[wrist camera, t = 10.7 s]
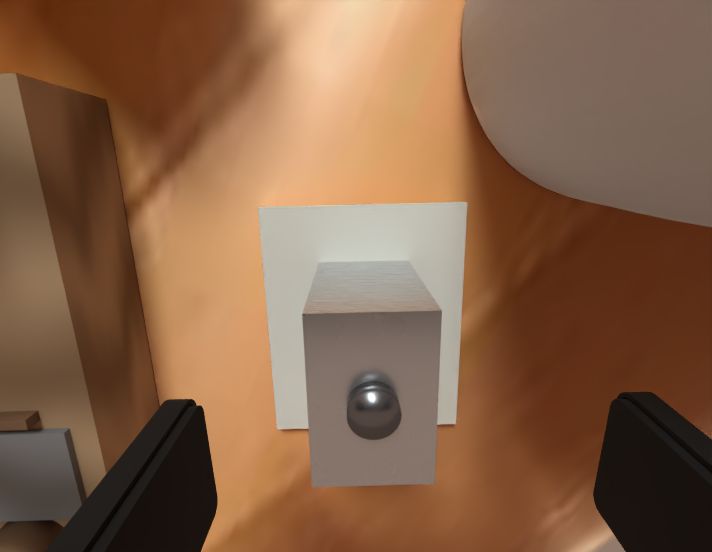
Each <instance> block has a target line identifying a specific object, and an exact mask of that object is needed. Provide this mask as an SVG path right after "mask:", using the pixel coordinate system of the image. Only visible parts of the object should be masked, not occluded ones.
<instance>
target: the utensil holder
mask: <svg viewBox="0 0 712 552" xmlns="http://www.w3.org/2000/svg"><path fill="white" fill-rule="evenodd" d="M462 60H463V68H464V76H465V80H466V85H467V90H468V94H469V97H470V101H471V103H472V106H473V108H474V111H475V113H476V116H477V118H478V121H479V123H480V125H481V126H482V128H483V130H484V132H485V134H486V136H487V137H488V139H489V140H490V142H491V143H492V144H493V146H494V147H495V149H496V150H497V151H498V153H499V154H500V155H501V156H502V157H503V158H504V159H505V160H506V161H507V162H508V163H509V164H510V165H511V166H512V167H513V168H514V169H516V170H517V171H518V172H519V173H521V174H522V175H524V176H525V177H527V178H528V179H530V180H531V181H533V182H535V183H536V184H538V185H540V186H542V187H544V188H546V189H548V190H551V191H553V192H556V193H559V194H561V195H565V196H568V197H571V198H575V199H578V200H582V201H586V202H591V203H595V204H600V205H605V206H610V207H614V208H618V209H622V210H627V211H631V212H635V213H640V214H644V215H649V216H654V217H658V218H663V219H668V220H673V221H678V222H684V223H690V224H695V225H701V226H706V227H712V0H466V1H465V6H464V11H463V23H462Z"/></svg>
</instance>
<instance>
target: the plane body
mask: <svg viewBox="0 0 712 552" xmlns="http://www.w3.org/2000/svg"><path fill="white" fill-rule="evenodd" d="M158 409H159V403H158V397H157V391H156V386H155V380H154V374H153V368H152V363H151V357H150V351H149V345H148V340H147V334H146V328H145V323H144V317H143V311H142V305H141V300H140V294H139V288H138V282H137V277H136V271H135V265H134V260H133V254H132V248H131V242H130V237H129V231H128V225H127V219H126V214H125V208H124V202H123V197H122V191H121V185H120V179H119V174H118V168H117V162H116V156H115V151H114V145H113V139H112V134H111V128H110V122H109V116H108V111H107V105H106V99H102V98H99V97H95V96H92V95H89V94H85V93H82V92H78V91H75V90H71V89H68V88H65V87H61V86H58V85H54V84H51V83H48V82H44V81H41V80H37V79H34V78H31V77H27V76H24V75H20V74H17V73H0V552H45V551H46V550H47V548H48V547H49V546H50V545H51V543H52V542H53V541H54V539H55V538H56V537H57V536H58V534H59V533H60V532H61V531H62V529H63V528H64V527H65V526H66V524H67V523H68V522H69V521H70V519H71V518H72V517H73V516H74V514H75V513H76V512H77V510H78V509H79V508H80V507H81V505H82V504H83V503H84V502H85V500H86V499H87V498H88V497H89V495H90V494H91V493H92V492H93V490H94V489H95V488H96V487H97V485H98V484H99V483H100V481H101V480H102V479H103V478H104V476H105V475H106V474H107V473H108V471H109V470H110V469H111V468H112V467H113V466H114V464H115V463H116V462H117V461H118V459H119V458H120V457H121V456H122V454H123V453H124V452H125V450H126V449H127V448H128V447H129V445H130V444H131V443H132V442H133V440H134V439H135V438H136V437H137V435H138V434H139V433H140V432H141V430H142V429H143V428H144V426H145V425H146V424H147V423H148V421H149V420H150V419H151V418H152V416H153V415H154V414H155V413H156V411H157V410H158Z"/></svg>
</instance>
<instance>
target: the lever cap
mask: <svg viewBox="0 0 712 552" xmlns="http://www.w3.org/2000/svg"><path fill="white" fill-rule="evenodd" d="M302 320H303V338H304V355H305V373H306V391H307V409H308V426H309V444H310V462H311V479H312V487H342V486H377V485H412V484H435V465H436V441H437V418H438V394H439V371H440V347H441V324H442V310H441V308H440V307H439V305H438V304H437V302H436V301H435V299H434V298H433V296H432V295H431V293H430V292H429V290H428V289H427V287H426V286H425V284H424V283H423V281H422V280H421V278H420V277H419V275H418V274H417V272H416V271H415V269H414V268H413V266H412V265H411V263H410V262H409V260H400V261H352V262H319V263H318V266H317V270H316V273H315V276H314V279H313V282H312V285H311V288H310V291H309V294H308V297H307V300H306V303H305V306H304V310H303V313H302Z"/></svg>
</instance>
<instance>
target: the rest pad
mask: <svg viewBox="0 0 712 552" xmlns="http://www.w3.org/2000/svg"><path fill="white" fill-rule="evenodd" d="M258 213H259V224H260V236H261V247H262V259H263V271H264V282H265V294H266V305H267V317H268V328H269V340H270V352H271V363H272V375H273V386H274V398H275V409H276V421H277V429H308V428H309V426H308V409H307V391H306V373H305V355H304V338H303V320H302V313H303V310H304V306H305V303H306V300H307V297H308V294H309V291H310V288H311V285H312V282H313V279H314V276H315V273H316V270H317V266H318V263H319V262H352V261H400V260H409V262H410V263H411V265H412V266H413V268H414V269H415V271H416V272H417V274H418V275H419V277H420V278H421V280H422V281H423V283H424V284H425V286H426V287H427V289H428V290H429V292H430V293H431V295H432V296H433V298H434V299H435V301H436V302H437V304H438V305H439V307H440V308H441V310H442V324H441V347H440V371H439V394H438V418H437V425H438V424H456V414H457V394H458V375H459V355H460V336H461V316H462V297H463V278H464V258H465V239H466V219H467V203H466V202H434V203H392V204H350V205H309V206H267V207H259V208H258Z"/></svg>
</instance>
